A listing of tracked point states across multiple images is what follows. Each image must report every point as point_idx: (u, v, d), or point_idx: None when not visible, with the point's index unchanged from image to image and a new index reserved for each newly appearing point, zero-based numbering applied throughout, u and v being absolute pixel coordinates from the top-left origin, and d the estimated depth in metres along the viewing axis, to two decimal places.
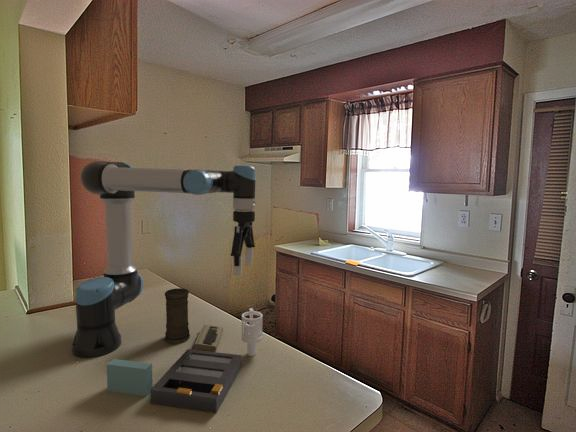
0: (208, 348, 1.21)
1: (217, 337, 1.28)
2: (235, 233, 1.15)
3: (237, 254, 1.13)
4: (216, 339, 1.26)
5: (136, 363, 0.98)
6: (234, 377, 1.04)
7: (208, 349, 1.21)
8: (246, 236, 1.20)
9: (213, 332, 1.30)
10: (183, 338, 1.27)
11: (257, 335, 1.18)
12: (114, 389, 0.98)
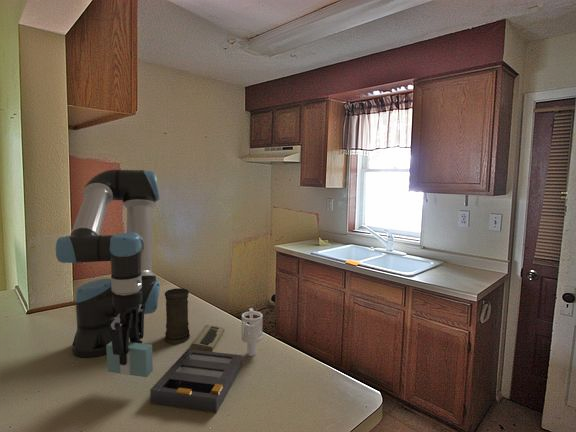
0: (205, 348, 1.21)
1: (216, 337, 1.27)
2: (111, 330, 0.91)
3: (120, 354, 0.92)
4: (214, 339, 1.26)
5: (136, 344, 0.98)
6: (234, 377, 1.04)
7: (205, 349, 1.21)
8: (131, 324, 0.95)
9: (213, 332, 1.30)
10: (183, 338, 1.27)
11: (257, 335, 1.18)
12: (114, 370, 0.98)
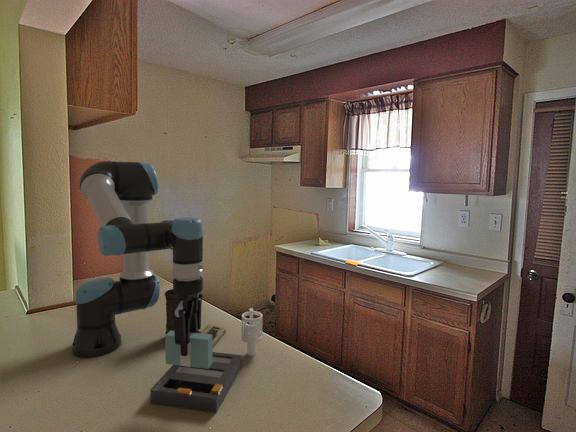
0: None
1: (215, 338, 1.27)
2: (175, 318, 0.87)
3: (183, 343, 0.88)
4: (213, 340, 1.25)
5: (196, 334, 0.93)
6: (234, 377, 1.04)
7: None
8: (192, 312, 0.91)
9: (213, 333, 1.30)
10: None
11: (257, 335, 1.18)
12: (173, 361, 0.93)
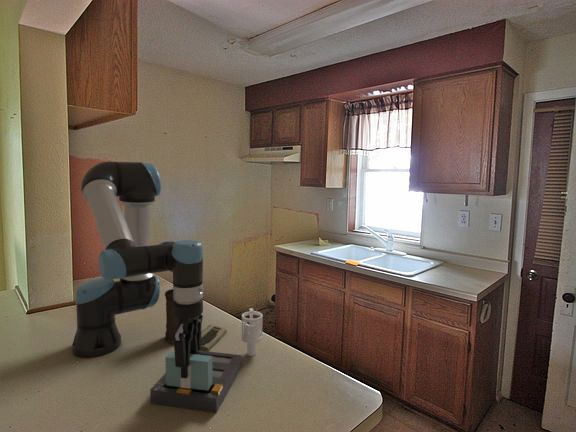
0: (201, 348, 1.21)
1: (214, 338, 1.27)
2: (175, 341, 0.87)
3: (183, 366, 0.88)
4: (212, 340, 1.25)
5: (196, 356, 0.94)
6: (234, 377, 1.04)
7: None
8: (192, 334, 0.92)
9: (213, 333, 1.30)
10: None
11: (257, 335, 1.18)
12: (173, 383, 0.94)
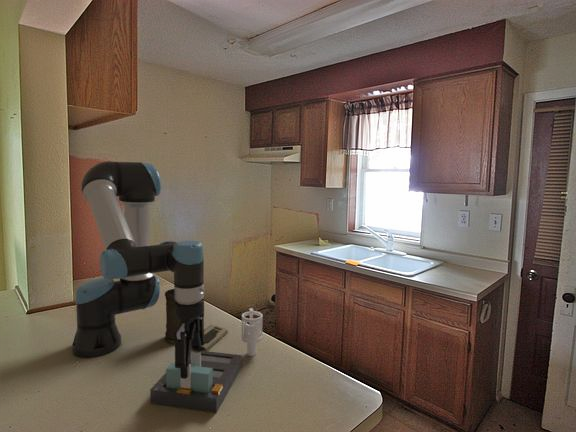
0: None
1: (214, 339, 1.27)
2: (176, 340, 0.88)
3: (182, 367, 0.88)
4: (211, 340, 1.25)
5: (196, 368, 0.94)
6: (234, 377, 1.04)
7: None
8: (193, 334, 0.92)
9: (213, 333, 1.30)
10: None
11: (257, 335, 1.18)
12: None
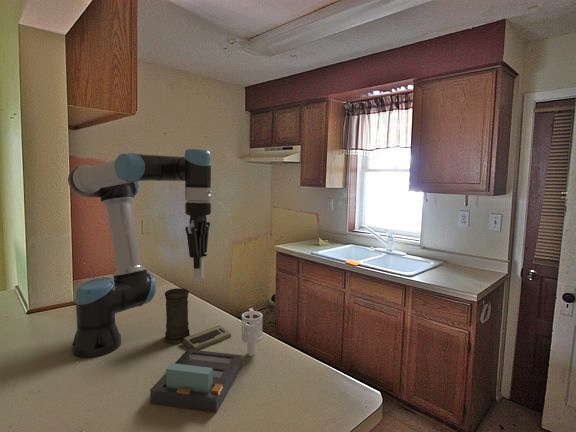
0: (190, 346, 1.22)
1: (209, 340, 1.26)
2: (188, 235, 1.01)
3: (196, 255, 1.03)
4: (205, 341, 1.25)
5: (196, 368, 0.94)
6: (234, 377, 1.04)
7: (190, 347, 1.22)
8: (202, 231, 1.05)
9: (213, 334, 1.29)
10: (183, 338, 1.27)
11: (257, 335, 1.18)
12: None
